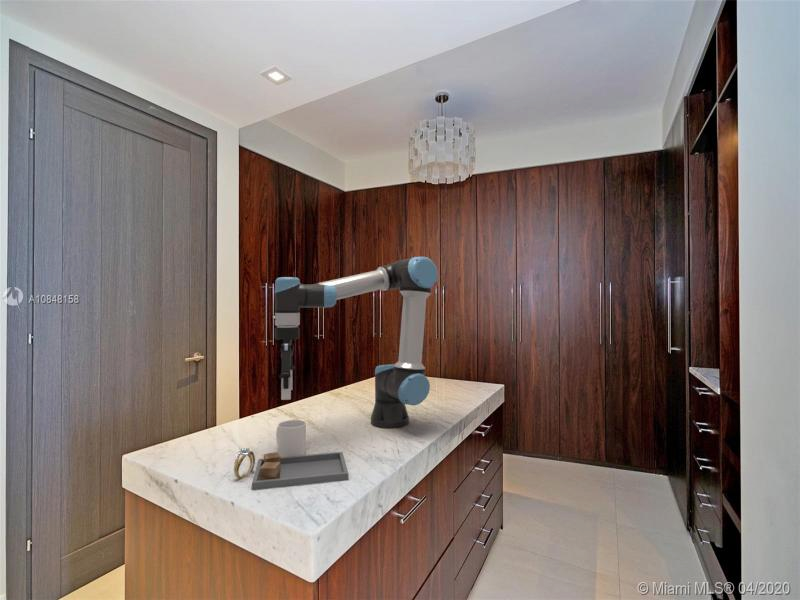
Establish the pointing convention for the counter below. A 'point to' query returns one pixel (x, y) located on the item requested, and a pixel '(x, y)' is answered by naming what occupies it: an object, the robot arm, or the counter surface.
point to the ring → (237, 463)
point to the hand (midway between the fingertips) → (287, 394)
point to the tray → (304, 470)
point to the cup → (291, 438)
